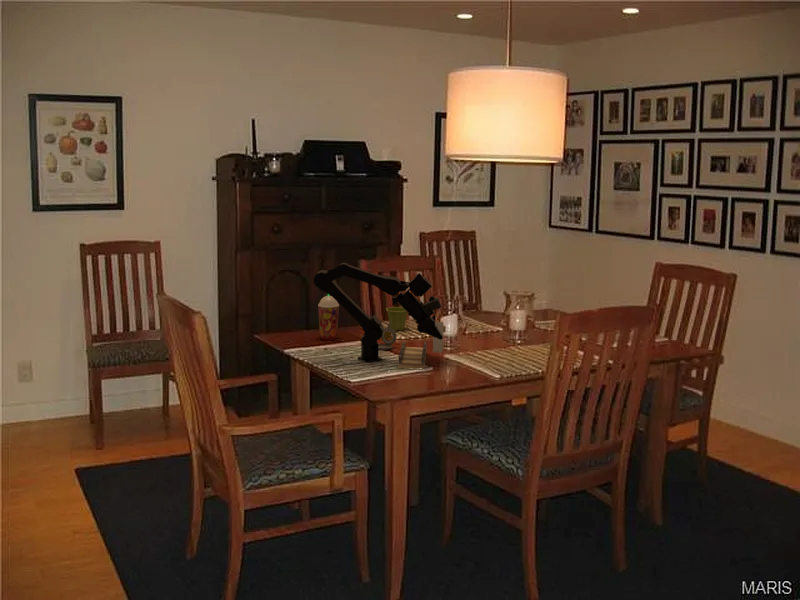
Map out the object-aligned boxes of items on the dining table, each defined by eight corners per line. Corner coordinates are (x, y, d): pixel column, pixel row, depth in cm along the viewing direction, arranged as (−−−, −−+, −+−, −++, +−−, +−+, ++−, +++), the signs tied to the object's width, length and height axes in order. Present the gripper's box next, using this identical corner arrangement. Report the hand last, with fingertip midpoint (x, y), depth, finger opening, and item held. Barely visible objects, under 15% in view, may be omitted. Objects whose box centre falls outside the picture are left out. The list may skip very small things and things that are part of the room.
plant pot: (412, 328, 361) (412, 308, 360) (400, 332, 353) (400, 312, 352) (393, 326, 366) (394, 306, 365) (381, 330, 358) (381, 309, 357)
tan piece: (424, 369, 297) (424, 358, 296) (398, 368, 297) (398, 357, 297) (426, 352, 320) (426, 342, 320) (402, 352, 321) (402, 341, 320)
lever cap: (432, 352, 305) (433, 324, 304) (433, 348, 310) (433, 321, 308) (444, 352, 305) (445, 325, 303) (445, 349, 310) (445, 322, 308)
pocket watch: (375, 350, 323) (375, 324, 321) (374, 345, 331) (375, 319, 329) (396, 350, 323) (397, 324, 321) (396, 345, 332) (396, 320, 330)
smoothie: (319, 336, 345) (319, 287, 342) (340, 336, 345) (340, 287, 341) (316, 340, 337) (316, 290, 334) (337, 341, 337) (338, 291, 333)
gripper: (427, 295, 295) (458, 327, 296) (429, 286, 313) (458, 316, 314) (404, 316, 297) (435, 348, 298) (407, 306, 315) (436, 336, 316)
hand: (442, 337), depth 307 cm, fingers closed on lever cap, 5 cm apart
